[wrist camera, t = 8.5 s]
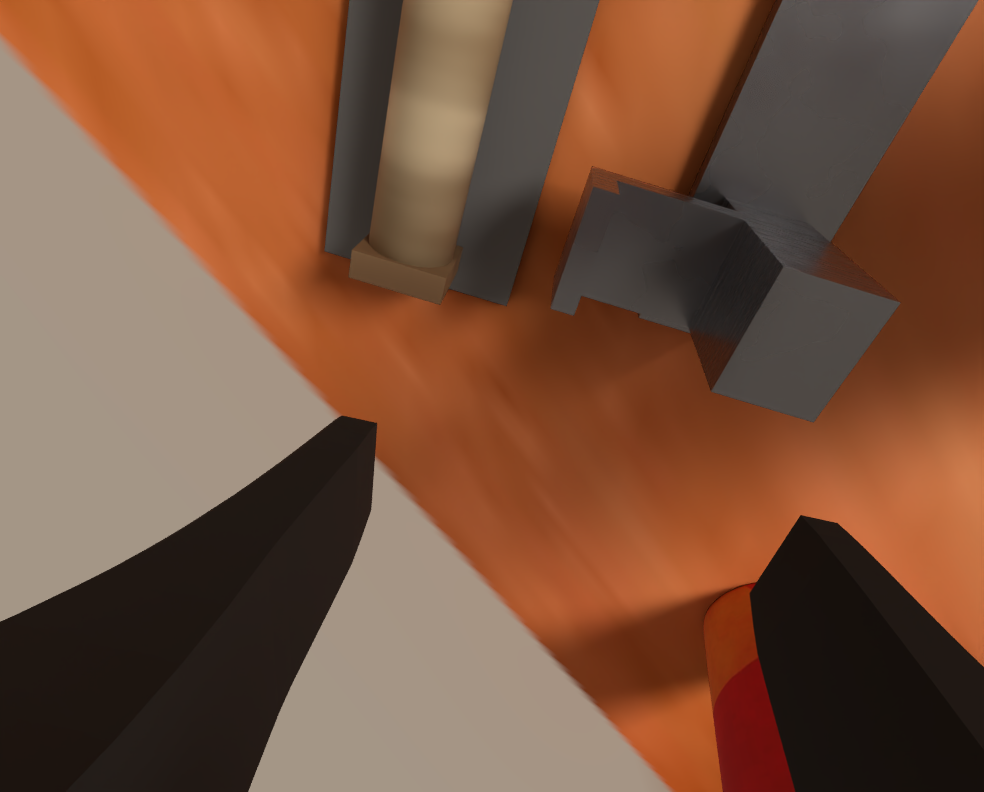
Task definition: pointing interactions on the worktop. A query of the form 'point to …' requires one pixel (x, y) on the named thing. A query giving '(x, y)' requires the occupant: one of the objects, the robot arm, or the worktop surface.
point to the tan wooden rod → (430, 143)
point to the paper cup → (742, 700)
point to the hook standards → (770, 205)
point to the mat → (504, 141)
